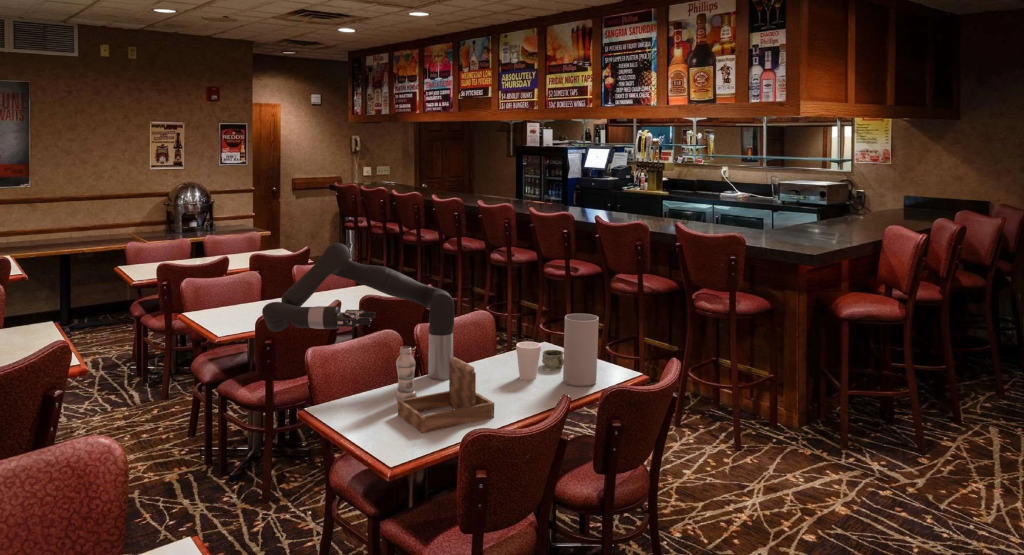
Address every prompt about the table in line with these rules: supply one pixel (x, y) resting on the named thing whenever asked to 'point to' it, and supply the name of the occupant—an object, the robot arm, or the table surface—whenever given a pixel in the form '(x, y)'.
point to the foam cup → (528, 359)
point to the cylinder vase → (580, 349)
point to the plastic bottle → (405, 374)
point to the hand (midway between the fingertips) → (372, 318)
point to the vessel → (553, 359)
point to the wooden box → (449, 402)
